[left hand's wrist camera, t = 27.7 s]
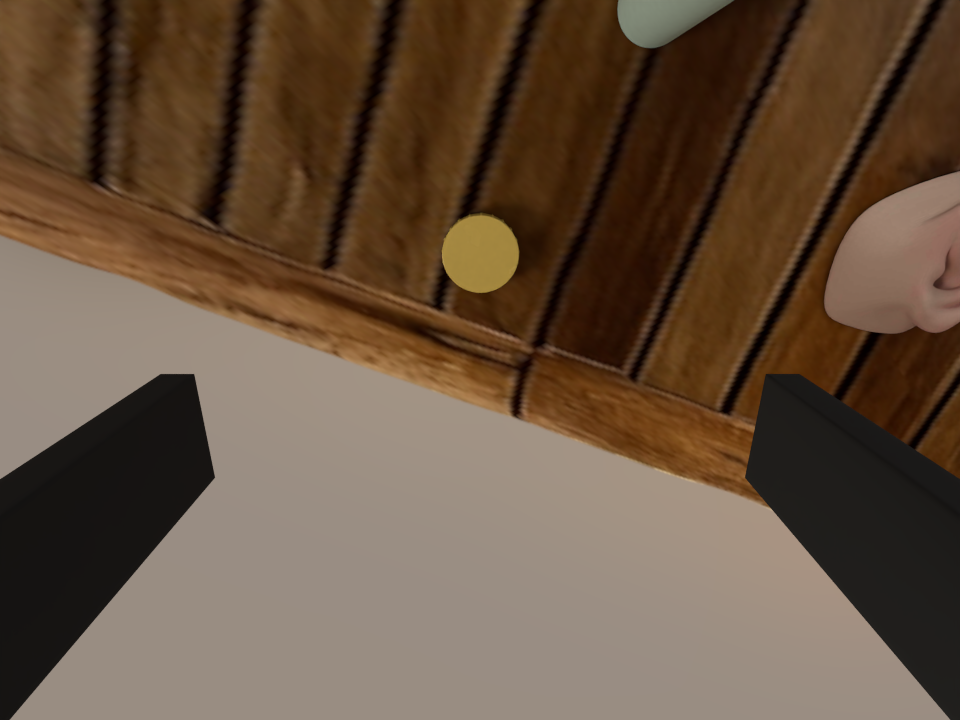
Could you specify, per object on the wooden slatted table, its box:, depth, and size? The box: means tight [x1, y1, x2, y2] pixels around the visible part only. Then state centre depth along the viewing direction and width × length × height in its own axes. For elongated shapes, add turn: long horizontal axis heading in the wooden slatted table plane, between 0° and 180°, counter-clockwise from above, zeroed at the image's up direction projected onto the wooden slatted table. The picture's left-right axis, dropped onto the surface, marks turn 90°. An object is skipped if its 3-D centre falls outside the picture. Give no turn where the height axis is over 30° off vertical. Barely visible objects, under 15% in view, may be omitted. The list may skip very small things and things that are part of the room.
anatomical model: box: [824, 171, 960, 333], centre depth 38 cm, size 13×4×12 cm
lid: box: [441, 212, 520, 293], centre depth 39 cm, size 6×6×2 cm
